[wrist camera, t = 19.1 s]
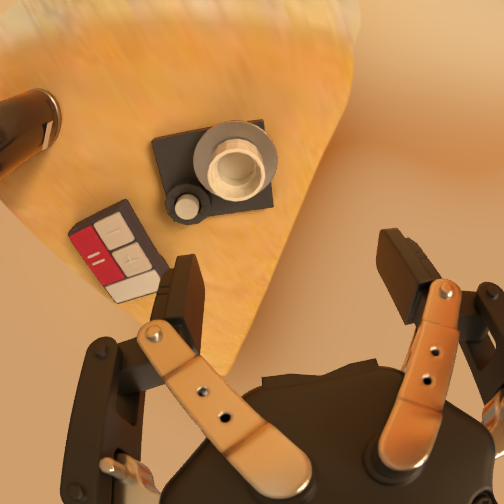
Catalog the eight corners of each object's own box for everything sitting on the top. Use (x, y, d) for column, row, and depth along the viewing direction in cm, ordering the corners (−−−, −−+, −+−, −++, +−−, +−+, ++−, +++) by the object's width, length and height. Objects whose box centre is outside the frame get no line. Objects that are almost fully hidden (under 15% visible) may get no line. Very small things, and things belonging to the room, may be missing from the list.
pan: (202, 202, 39) (202, 204, 38) (186, 128, 33) (185, 129, 33) (280, 191, 39) (281, 193, 38) (272, 114, 33) (273, 115, 32)
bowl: (215, 188, 37) (213, 205, 34) (206, 142, 34) (202, 154, 30) (264, 181, 37) (267, 197, 33) (258, 134, 33) (261, 145, 30)
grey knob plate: (175, 217, 43) (171, 228, 41) (154, 138, 36) (148, 144, 34) (272, 202, 43) (275, 213, 40) (262, 119, 36) (264, 124, 33)
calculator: (118, 209, 38) (169, 291, 46) (128, 196, 41) (174, 274, 49) (64, 236, 40) (115, 307, 48) (75, 222, 43) (122, 291, 51)
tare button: (179, 215, 40) (178, 221, 39) (174, 195, 38) (172, 201, 37) (201, 212, 40) (200, 217, 39) (196, 191, 38) (195, 197, 37)
